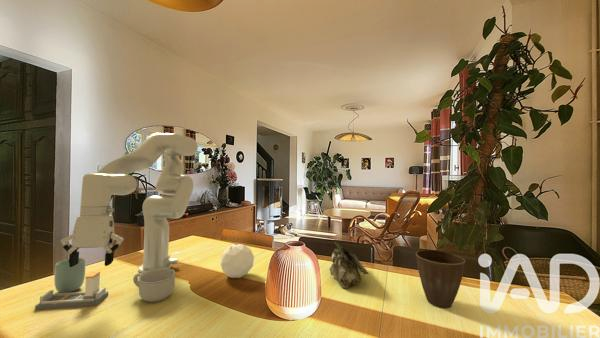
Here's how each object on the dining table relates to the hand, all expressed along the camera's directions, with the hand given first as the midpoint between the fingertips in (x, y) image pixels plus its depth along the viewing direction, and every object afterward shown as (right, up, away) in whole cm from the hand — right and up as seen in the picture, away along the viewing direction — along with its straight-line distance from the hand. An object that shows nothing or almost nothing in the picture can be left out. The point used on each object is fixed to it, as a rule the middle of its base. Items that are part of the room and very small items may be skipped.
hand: (91, 265), depth 81 cm
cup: (-13, -12, +7) cm, 19 cm away
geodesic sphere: (+41, -14, +23) cm, 49 cm away
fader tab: (0, -10, +1) cm, 10 cm away
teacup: (+17, -13, +4) cm, 22 cm away
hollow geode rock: (+87, -15, +27) cm, 92 cm away
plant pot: (+115, -16, +6) cm, 116 cm away
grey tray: (-5, -12, -1) cm, 13 cm away
